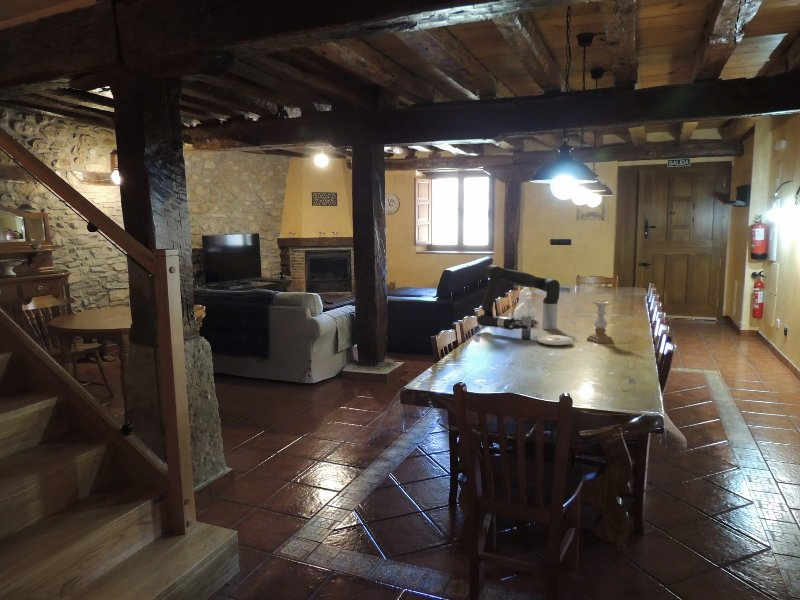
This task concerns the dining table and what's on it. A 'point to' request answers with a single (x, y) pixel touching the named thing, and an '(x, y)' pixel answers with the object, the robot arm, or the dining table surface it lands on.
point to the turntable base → (554, 345)
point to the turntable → (554, 339)
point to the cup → (526, 332)
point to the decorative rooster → (525, 305)
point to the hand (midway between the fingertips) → (529, 326)
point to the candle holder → (600, 325)
